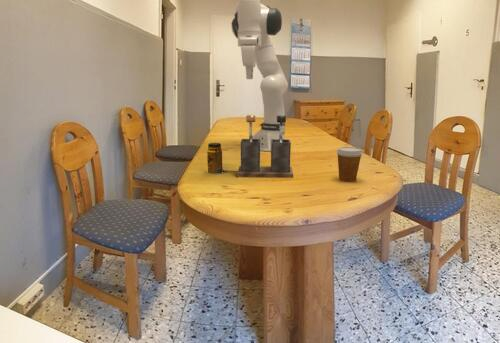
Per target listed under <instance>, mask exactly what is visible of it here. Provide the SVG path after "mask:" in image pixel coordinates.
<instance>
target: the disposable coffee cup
mask: <svg viewBox="0 0 500 343" xmlns="http://www.w3.org/2000/svg"><path fill="white" fill-rule="evenodd" d="M336 154H337V163H338V164H337V165H338V166H337V167H338V179H339V181H341V182H349V183H350V182H351V183H353V182H355V181H357V177H358V171H359V166H360V162H361V158H362V155H363V152H362V149H361V148H359V147H354V146H353V147H352V146H340V147H338V148H337V151H336Z"/></svg>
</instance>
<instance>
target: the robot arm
mask: <svg viewBox="0 0 500 343" xmlns="http://www.w3.org/2000/svg"><path fill="white" fill-rule="evenodd" d="M230 24H231V32H232V34H233V35H234V37H235V38H236V39H237V47H240V51H241V53H240V54H241V62H242V65H243V67H245V74H246V75H245V76H246V80H253V79H254V68H255V67H257V70H259V72H260V74H261V76H262V78H263V79H262V80H261V82H260V86H259V87H260V91H261V96H262V102H263V103H262V104H263V122H262V123H259V127H260V129H259V130H258V131H256V132H255V133H254V134H252V139H260V152H271V139H279V131H280V123H279V122H277V116H280V115H282V116H286V115H285V112H286V110H285V104H284V94H285V93H286V92H287V90H288V87H289V83H288V81H287V78H286V75H285V73H284V72H283V69H282V67H281V65H280V63H279V60H278V58H277V57H278V56H277V55H276V52H275V48H274V45H273V42H272V40H271V38H270V36H276V35H278V34H279V33H280V31H281V30H282V26H283V17H282V13H281V12H280V10H279V9H278V8H277V7H271V6H269V5H264V4H263V3H261V0H238V2H237V3H236V6H235V13H234V17H233V19H232V22H231V23H230ZM285 133H286V122H285V123H283V133H282V139H285Z"/></svg>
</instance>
